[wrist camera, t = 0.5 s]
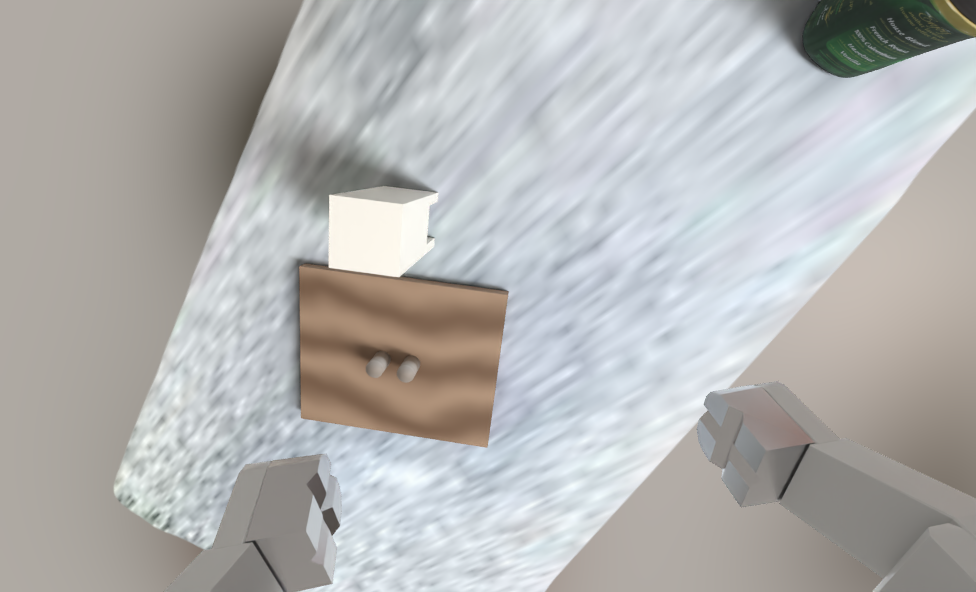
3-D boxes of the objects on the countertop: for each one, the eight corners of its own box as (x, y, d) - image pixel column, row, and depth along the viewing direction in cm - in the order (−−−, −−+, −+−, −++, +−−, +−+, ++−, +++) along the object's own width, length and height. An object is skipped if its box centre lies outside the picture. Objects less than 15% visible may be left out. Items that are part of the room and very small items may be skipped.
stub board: (305, 263, 52) (285, 272, 48) (508, 291, 51) (506, 303, 47) (306, 411, 58) (288, 431, 54) (488, 440, 57) (484, 463, 53)
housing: (384, 185, 49) (329, 194, 35) (438, 192, 48) (403, 204, 35) (382, 239, 51) (328, 267, 37) (433, 246, 50) (398, 277, 37)
